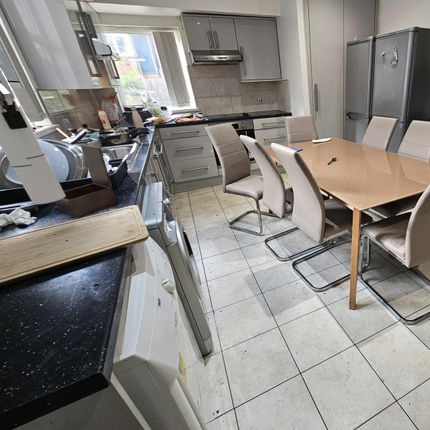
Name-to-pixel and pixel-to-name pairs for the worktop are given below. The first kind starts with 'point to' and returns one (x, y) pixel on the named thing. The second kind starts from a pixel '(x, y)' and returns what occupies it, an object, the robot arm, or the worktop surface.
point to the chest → (86, 200)
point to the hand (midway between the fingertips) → (13, 127)
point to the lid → (96, 164)
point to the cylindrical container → (29, 162)
